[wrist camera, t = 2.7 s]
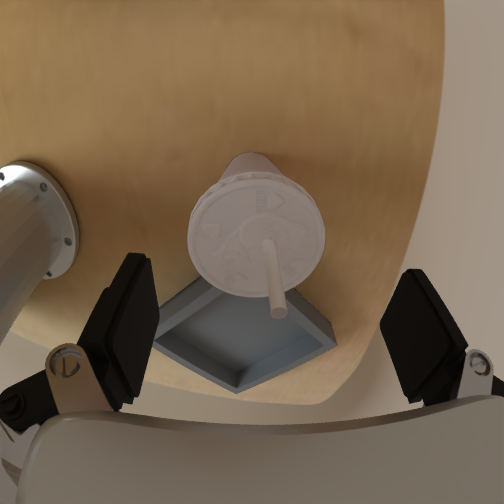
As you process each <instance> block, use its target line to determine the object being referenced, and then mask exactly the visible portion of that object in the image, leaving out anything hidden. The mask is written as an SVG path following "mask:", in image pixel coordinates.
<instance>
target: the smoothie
mask: <svg viewBox="0 0 504 504" xmlns="http://www.w3.org/2000/svg"><path fill="white" fill-rule="evenodd" d="M187 246H188V252H189V255H190V258H191V260H192V263H193V265H194V266H195V268H196V269H197V271H198V272H199V273H200V275H201V276H202V277H203V278H204V279H205V280H206V281H208V282H209V283H210V284H212V285H213V286H215V287H216V288H218V289H220V290H222V291H224V292H227V293H230V294H233V295H236V296H242V297H253V298H256V297H267V296H269V303H270V312H271V316H272V317H273V318H276V319H281V318H284V317H285V316H286V315H287V313H288V311H287V305H286V299H285V294H284V292H285V291H287V290H290V289H291V288H293V287H295V286H297V285H298V284H300V283H301V282H302V281H303V280H305V279H306V278H307V277H308V276H309V275H310V274H311V273H312V272H313V270H314V269H315V268H316V266H317V264H318V263H319V261H320V259H321V257H322V254H323V251H324V247H325V227H324V223H323V220H322V217H321V214H320V212H319V210H318V207H317V205H316V203H315V201H314V199H313V198H312V197H311V196H310V195H309V194H308V192H307V191H306V190H305V189H304V188H303V187H302V186H300V185H299V184H297V183H295V182H294V181H292V180H291V179H289V178H287V177H285V176H284V175H283V174H282V173H281V172H280V171H279V170H278V169H277V168H276V166H275V165H274V164H273V163H272V162H271V161H270V160H269V159H268V158H267V157H265V156H264V155H261V154H259V153H254V152H248V153H243V154H240V155H238V156H237V157H235V158H234V159H233V160H232V161H231V162H230V164H229V165H228V167H227V168H226V170H225V171H224V173H223V174H222V176H221V177H220V179H219V181H218V182H217V183H216V184H214V185H212V186H211V187H210V188H209V189H208V190H207V191H206V192H205V193H204V194H203V195H202V196H201V197H200V198H199V200H198V202H197V204H196V205H195V207H194V209H193V211H192V213H191V217H190V222H189V227H188V234H187Z"/></svg>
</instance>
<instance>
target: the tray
mask: <svg viewBox="0 0 504 504" xmlns="http://www.w3.org/2000/svg"><path fill="white" fill-rule="evenodd" d="M284 294H285V299H286V305H287V311H288V313H287V315H286V316H285V317H284V318H281V319H276V318H273V317H272V316H271V312H270V303H269V296H267V297H256V298H253V297H242V296H236V295H233V294H230V293H227V292H224V291H222V290H220V289H218V288H216V287H215V286H213V285H212V284H210V283H209V282H208V281H206V280H205V279H204V278H203V277H202V276H200V277H199V278H197V279H196V280H195V281H193V282H192V283H191V284H189V285H188V286H187V287H186V288H184V289H183V290H182V291H180V292H179V293H178V294H176V295H175V296H174V297H173V298H171V299H170V300H169V301H167V302H166V303H165V304H164V305H162V306H161V307H160V308H159V312H160V319H159V324H158V327H157V331H156V334H155V338H154V341H153V345H152V347H153V348H155V349H156V350H158V351H160V352H161V353H163V354H165V355H166V356H168V357H169V358H171V359H173V360H174V361H176V362H178V363H180V364H181V365H183V366H185V367H186V368H188V369H190V370H192V371H194V372H195V373H197V374H199V375H201V376H203V377H204V378H206V379H208V380H210V381H212V382H214V383H216V384H218V385H219V386H221V387H223V388H225V389H227V390H229V391H231V392H233V393H235V394H237V393H240V392H242V391H245V390H247V389H249V388H252V387H254V386H256V385H259V384H261V383H263V382H265V381H267V380H270V379H272V378H274V377H276V376H278V375H280V374H283V373H285V372H287V371H289V370H291V369H293V368H295V367H297V366H299V365H301V364H303V363H305V362H307V361H309V360H311V359H313V358H315V357H317V356H319V355H320V354H322V353H324V352H326V351H328V350H330V349H332V348H333V347H335V346H337V342H336V338H335V335H334V332H333V328H332V325H331V323H330V322H329V321H328V320H326V319H325V318H324V317H323V316H322V315H321V314H320V313H319V312H318V311H317V310H316V309H315V308H314V307H313V306H312V305H311V304H310V303H309V302H308V301H307V300H306V299H305V298H304V297H303V296H302V295H301V294H300V293H299V292H297V291H296V290H295V289H294V288H291V289H290V290H287V291H285V292H284Z"/></svg>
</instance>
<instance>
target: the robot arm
mask: <svg viewBox="0 0 504 504" xmlns="http://www.w3.org/2000/svg"><path fill="white" fill-rule="evenodd" d="M78 248H79V228H78V223H77V218H76V216H75V213H74V210H73V207H72V205H71V203H70V201H69V199H68V197H67V195H66V193H65V192H64V191H63V189H62V188H61V186H60V185H59V183H58V182H57V181H56V180H55V179H54V178H53V177H52V176H51V175H50V174H49V173H48V172H46V171H45V170H44V169H42V168H41V167H39V166H37V165H35V164H33V163H29V162H25V161H16V162H12V163H9V164H7V165H5V166H3V167H2V168H0V345H1V343H2V342H3V340H4V338H5V336H6V334H7V333H8V331H9V329H10V328H11V326H12V324H13V323H14V321H15V319H16V318H17V316H18V314H19V313H20V311H21V310H22V308H23V307H24V305H25V303H26V302H27V300H28V299H29V297H30V296H31V294H32V293H33V291H34V290H35V289H36V287H37V286H38V284H39V283H40V281H41V280H42V279H54V278H58V277H59V276H61V275H63V274H64V273H65V272H66V271H67V270H68V269H69V268H70V266H71V265H72V263H73V262H74V260H75V258H76V255H77V253H78ZM159 319H160V312H159V307H158V302H157V296H156V290H155V285H154V278H153V272H152V266H151V260H150V258H146V256H145V254H143V253H128V254H127V256H126V258H125V260H124V261H123V263H122V265H121V267H120V268H119V270H118V272H117V274H116V276H115V278H114V279H113V281H112V283H111V285H110V287H107V288H105V289H104V290H103V292H102V294H101V296H100V298H99V300H98V301H97V303H96V305H95V307H94V309H93V311H92V313H91V315H90V317H89V319H88V321H87V323H86V325H85V327H84V329H83V331H82V334H81V336H80V338H79V340H78V342H77V344H73V343H65V344H62V345H59V346H57V347H56V348H54V349H53V350H52V351H51V352H50V353H49V355H48V356H47V358H46V362H45V370H42V371H41V372H38V373H36V374H34V375H32V376H31V377H28V378H27V379H24V380H23V381H21V382H18V383H16V384H14V385H12V386H11V387H8V388H7V389H5V390H4V391H3V392H2V393H1V394H0V504H504V382H503V381H502V380H500V379H499V378H497V377H496V376H494V375H493V365H492V362H491V360H490V359H489V357H488V356H487V355H486V354H485V353H484V352H482V351H480V350H476V349H472V350H470V351H469V352H468V353H467V354H466V352H465V349H466V348H467V347H468V344H467V342H466V340H465V338H464V336H463V334H462V333H461V331H460V329H459V327H458V326H457V324H456V322H455V321H454V319H453V317H452V316H451V314H450V312H449V310H448V309H447V307H446V305H445V304H444V302H443V301H442V299H441V297H440V296H439V294H438V293H437V291H436V290H435V288H434V287H433V285H432V284H431V282H430V281H429V279H428V278H427V276H426V275H425V273H424V272H423V271H422V270H421V269H407V270H406V272H404V273H403V274H402V276H401V278H400V280H399V283H398V285H397V287H396V289H395V291H394V294H393V296H392V298H391V300H390V302H389V304H388V306H387V309H386V311H385V313H384V315H383V317H382V319H381V321H380V330H381V333H382V335H383V338H384V340H385V343H386V346H387V348H388V351H389V354H390V356H391V359H392V362H393V364H394V367H395V370H396V373H397V376H398V379H399V382H400V385H401V388H402V390H403V393H404V395H405V396H406V397H407V398H408V401H409V404H411V403H415V402H420V401H421V400H422V399H423V402H424V404H423V407H422V408H418V409H413V410H408V411H404V412H398V413H393V414H387V415H382V416H375V417H369V418H362V419H354V420H346V421H336V422H325V423H312V424H292V425H291V424H290V425H240V424H219V423H206V422H195V421H184V420H175V419H167V418H158V417H152V416H146V415H138V414H130V413H123V412H120V411H119V410H120V409H121V408H122V405H123V403H127V404H132V403H133V400H134V397H138V396H139V394H140V390H141V386H142V382H143V378H144V374H145V371H146V367H147V363H148V359H149V356H150V352H151V348H152V345H153V341H154V338H155V334H156V331H157V327H158V324H159Z"/></svg>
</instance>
